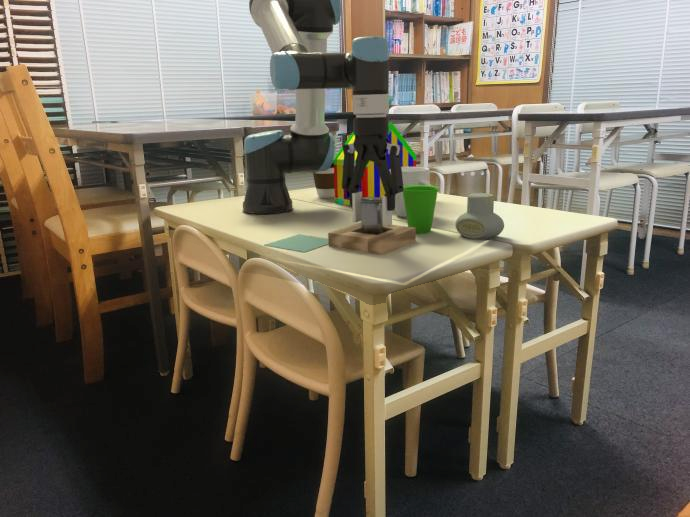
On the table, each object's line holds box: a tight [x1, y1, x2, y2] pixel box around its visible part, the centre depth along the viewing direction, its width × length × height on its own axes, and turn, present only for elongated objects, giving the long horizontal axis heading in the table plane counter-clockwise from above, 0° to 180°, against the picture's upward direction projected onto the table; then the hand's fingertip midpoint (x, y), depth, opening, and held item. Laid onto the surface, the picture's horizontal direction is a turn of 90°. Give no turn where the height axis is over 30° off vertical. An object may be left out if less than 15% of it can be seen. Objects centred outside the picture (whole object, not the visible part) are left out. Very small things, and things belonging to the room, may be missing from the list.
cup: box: [403, 185, 440, 234], centre depth 131 cm, size 9×9×11 cm
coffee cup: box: [312, 159, 335, 199], centre depth 187 cm, size 11×11×12 cm
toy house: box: [333, 122, 417, 206], centre depth 176 cm, size 24×14×25 cm, turn 133°
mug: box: [390, 166, 432, 219], centre depth 150 cm, size 15×11×13 cm
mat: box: [263, 233, 329, 253], centre depth 124 cm, size 12×12×1 cm
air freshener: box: [454, 192, 505, 240], centre depth 126 cm, size 11×8×10 cm
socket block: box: [327, 221, 417, 256], centre depth 122 cm, size 14×14×4 cm
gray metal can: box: [360, 197, 384, 235], centre depth 121 cm, size 5×5×10 cm
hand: (372, 223), depth 121 cm, fingers open, 7 cm apart
